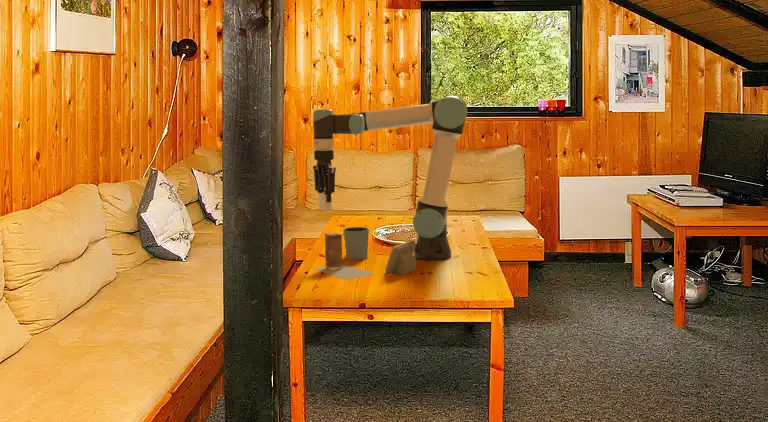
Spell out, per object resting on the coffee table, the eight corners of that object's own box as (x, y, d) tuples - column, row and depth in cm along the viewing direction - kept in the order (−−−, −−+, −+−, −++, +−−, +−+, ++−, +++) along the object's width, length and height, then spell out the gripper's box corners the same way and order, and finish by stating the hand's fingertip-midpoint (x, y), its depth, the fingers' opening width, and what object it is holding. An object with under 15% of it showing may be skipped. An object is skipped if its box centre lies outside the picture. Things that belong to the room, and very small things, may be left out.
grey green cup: (373, 257, 326) (373, 227, 325) (362, 262, 317) (361, 231, 315) (351, 255, 331) (350, 226, 329) (339, 260, 321) (338, 230, 320)
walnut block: (325, 268, 305) (324, 234, 303) (336, 266, 308) (335, 232, 306) (332, 270, 301) (331, 235, 299) (342, 268, 304) (341, 234, 302)
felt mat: (313, 269, 304) (313, 268, 304) (343, 265, 312) (343, 264, 312) (344, 280, 287) (344, 279, 286) (375, 275, 294) (375, 274, 294)
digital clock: (405, 266, 310) (405, 238, 308) (424, 269, 304) (424, 241, 302) (378, 273, 297) (377, 245, 296) (397, 276, 292) (396, 247, 290)
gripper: (304, 149, 317) (306, 208, 320) (326, 151, 303) (327, 213, 307) (321, 148, 321) (322, 206, 325) (343, 150, 308) (344, 211, 311)
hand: (325, 209), depth 316 cm, fingers open, 3 cm apart
